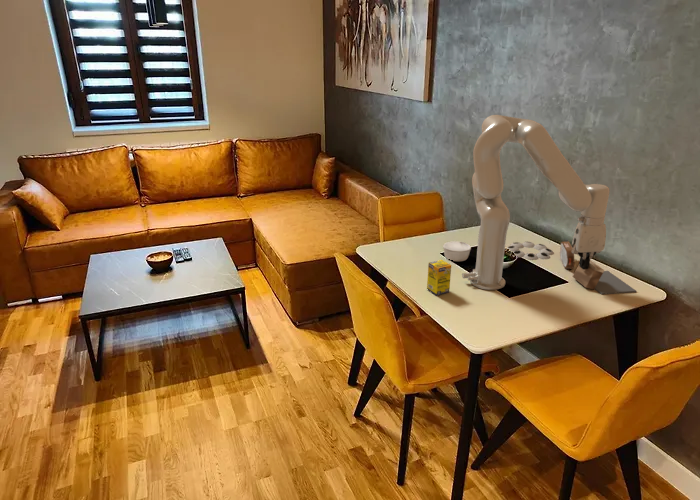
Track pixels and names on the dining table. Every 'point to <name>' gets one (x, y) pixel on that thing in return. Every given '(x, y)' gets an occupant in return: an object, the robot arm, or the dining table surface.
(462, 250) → the ramekin
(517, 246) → the paint palette
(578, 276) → the block
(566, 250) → the tin
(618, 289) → the mat
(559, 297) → the dining table surface
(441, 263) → the supplement box
